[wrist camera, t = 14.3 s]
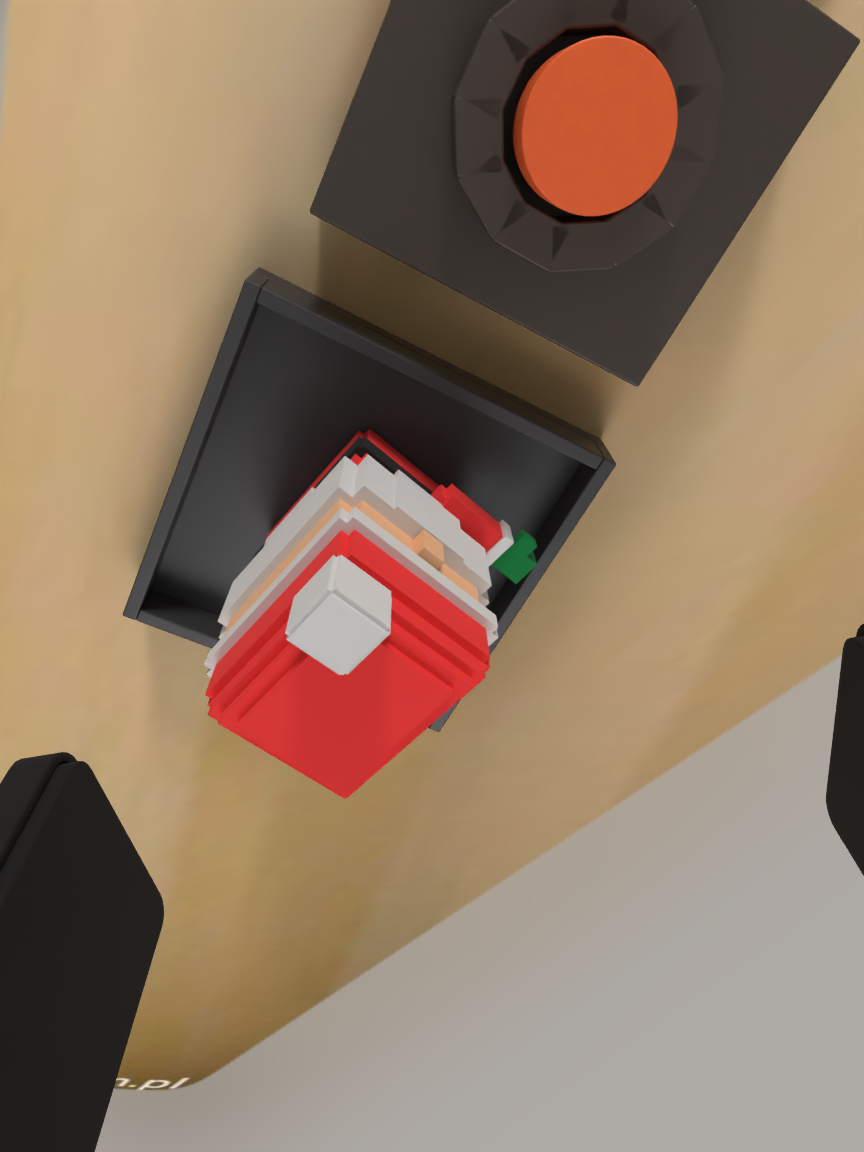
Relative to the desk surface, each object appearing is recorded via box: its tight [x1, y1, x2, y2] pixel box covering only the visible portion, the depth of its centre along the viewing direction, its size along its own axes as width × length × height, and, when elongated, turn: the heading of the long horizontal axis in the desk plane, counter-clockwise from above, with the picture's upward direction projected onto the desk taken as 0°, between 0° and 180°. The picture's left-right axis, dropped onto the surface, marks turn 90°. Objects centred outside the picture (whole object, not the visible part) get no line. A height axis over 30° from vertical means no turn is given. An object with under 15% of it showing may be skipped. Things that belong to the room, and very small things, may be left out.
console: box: [310, 0, 860, 386], centre depth 21 cm, size 11×10×4 cm
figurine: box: [204, 429, 537, 799], centre depth 23 cm, size 8×7×12 cm
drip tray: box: [123, 268, 616, 732], centre depth 28 cm, size 13×13×2 cm
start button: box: [513, 35, 678, 216], centre depth 18 cm, size 4×4×2 cm
